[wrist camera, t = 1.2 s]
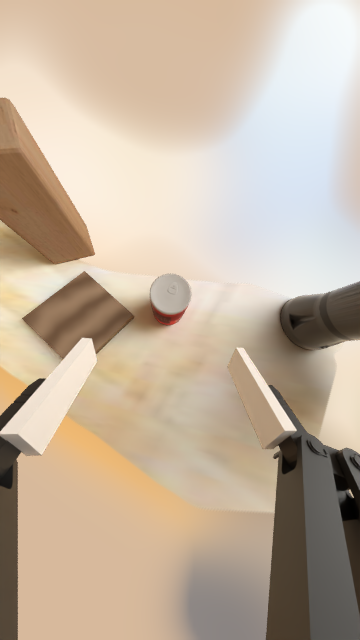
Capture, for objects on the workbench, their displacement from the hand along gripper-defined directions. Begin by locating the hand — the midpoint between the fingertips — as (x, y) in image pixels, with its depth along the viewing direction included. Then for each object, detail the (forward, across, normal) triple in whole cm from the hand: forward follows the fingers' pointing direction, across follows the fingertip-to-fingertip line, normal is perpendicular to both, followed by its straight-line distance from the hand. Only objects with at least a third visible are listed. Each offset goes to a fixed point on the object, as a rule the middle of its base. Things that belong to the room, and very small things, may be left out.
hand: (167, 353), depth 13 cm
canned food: (+22, 0, -7) cm, 23 cm away
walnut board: (+20, -19, -10) cm, 29 cm away
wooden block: (+34, -26, +4) cm, 43 cm away
